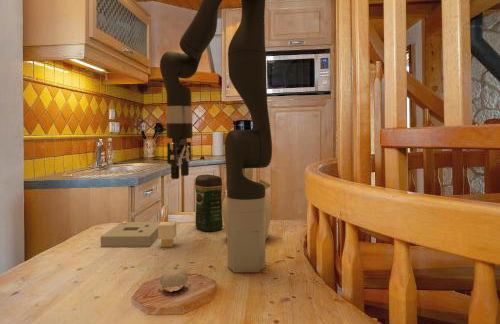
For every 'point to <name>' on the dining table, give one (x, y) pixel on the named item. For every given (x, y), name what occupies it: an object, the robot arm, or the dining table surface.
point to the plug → (167, 233)
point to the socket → (131, 234)
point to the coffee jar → (208, 202)
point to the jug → (268, 208)
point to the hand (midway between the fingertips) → (180, 177)
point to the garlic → (174, 277)
